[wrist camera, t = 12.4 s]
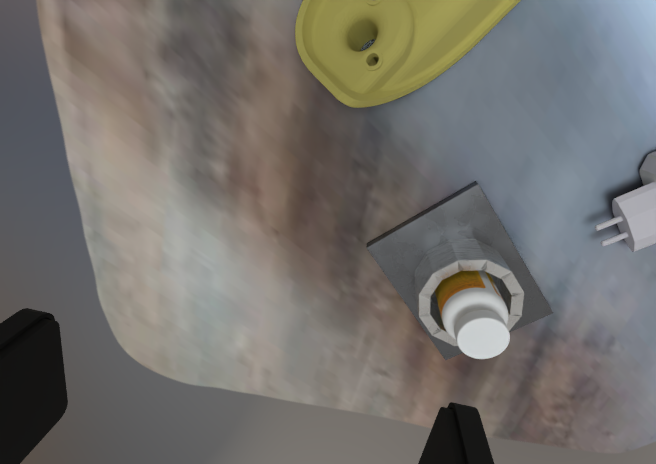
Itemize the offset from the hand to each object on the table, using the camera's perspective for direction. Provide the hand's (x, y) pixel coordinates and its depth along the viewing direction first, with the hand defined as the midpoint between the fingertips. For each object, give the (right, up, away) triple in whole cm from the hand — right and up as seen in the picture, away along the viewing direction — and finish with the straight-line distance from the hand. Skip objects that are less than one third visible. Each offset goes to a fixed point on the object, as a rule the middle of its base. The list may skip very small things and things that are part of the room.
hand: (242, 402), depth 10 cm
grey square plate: (+15, 0, +31) cm, 35 cm away
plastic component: (+9, +24, +23) cm, 34 cm away
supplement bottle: (+15, 0, +30) cm, 34 cm away
